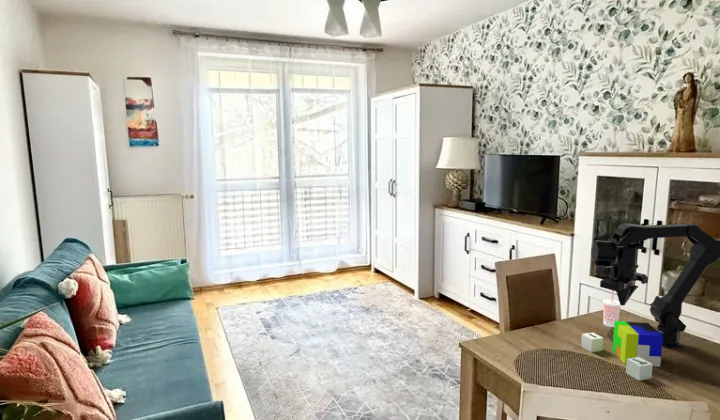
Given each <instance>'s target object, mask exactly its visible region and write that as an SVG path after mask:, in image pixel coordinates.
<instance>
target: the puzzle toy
mask: <svg viewBox="0 0 720 420" xmlns="http://www.w3.org/2000/svg"><path fill="white" fill-rule="evenodd" d="M662 343H663V336H662V335H661V334H660V333H659V332H658V331H657V328H654V326H652V325H651V324H650V323H649V322H638V321H637V322H636V321H621V320H618V321H615V322H614V327H613V337H612V348H611V349H612V350H613V352H614V353H615V355H616V356H617V357H618V358H619V359H620V360H621V362H623V364H624V365H627V359H629V358H636V357H640V358H642V359H644V360H646V361H648V362H650V363H651V364H653V367H657V368H658V367H659V368H660V367H661V363H662V351H663V345H662Z"/></svg>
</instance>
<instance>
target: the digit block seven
mask: <svg viewBox="0 0 720 420" xmlns="http://www.w3.org/2000/svg"><path fill="white" fill-rule="evenodd" d="M625 366H626V367H625V373H626V374H627V375H629V376H631V377H632V378H633V379H635V380H637V381H645V380H649V379H652V378H653V377H652V375H653V367H654V366H653V364H651V363H650V362H648V361H646V360H644V359H642V358H640V357H636V358H629V359H627V364H625Z"/></svg>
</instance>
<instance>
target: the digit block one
mask: <svg viewBox="0 0 720 420" xmlns="http://www.w3.org/2000/svg"><path fill="white" fill-rule="evenodd" d="M580 338H581V341H580V347H582V348H583V349H585V350H586V351H588V352H590V353H595V352H601V351H603V350H604V349H603V347H604V337H603V336H601V335H599V334H597V333H596V332H585V333H582V334H581V337H580Z"/></svg>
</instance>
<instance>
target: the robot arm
mask: <svg viewBox="0 0 720 420" xmlns="http://www.w3.org/2000/svg"><path fill="white" fill-rule="evenodd" d="M680 237H682V238H683V237H685V238H686V239H687V240H688V241H689V242H690V243H691V244H692V247H691V248H690V258H689V260H688V261H687V263H686V265H685V266H684V267H683V269H682V270H681V272H680V274H679V275H678V277H677V278H676V279H675V280H674V283H673V284H672V285H671V287H670V289H669V290H668V291H667V293H666V294H665V295H663V296H662V297H661V296H659V295H655V297H654V300H653V302H652V303H650V304H649V306H650V308H649V311H650V314H651V316H652V317H653V318H654V320H655V322H657V323H658V325H657V328H656V330H657V331H658V332H659V333H660V334H661V335H662V336H663V343H662V347H666V348H668V349H673V348H678V347H679V348H680V347H684V343H681V342H680V339H681V337H680V336H681V332H682V333H683V332H685V331H686V328H687V325H686V324H684V322H683V321H682V320H681V319H680V317H681V314H682V308H683V302H684V301H685V299H686V297H687V296H688V295H689V293H690V292H691V291H692V289H693V288H694V286H695V285H696V283H697V282H698V280H699V279H700V278H701V276H702V274H703V273H704V272H705V270H706V269H707V268H708V266H710V265H712V264H714V263H715V262H717V261H718V260H720V240H718V239H715V238H714V237H712V236H711V235H710V234H708V233H706V232H705V231H704V230H702V229H701V228H700V227H699V226H697V224H693V223H690V222H685V223H677V224H676V223H675V224H673V223H671V224H656V225H655V224H654V225H643V224H637V223H627V222H625V223H624V222H623V223H620V224H619V225H618V226H617V227H616V229H615V232H614V233H612V235H611V236H610V237H609V238H608V239H607V240H599V239H598V240H597V239H596V240H594V244H592V247H591V253H590V254H591V257H592V259H593V261H603V262H604V261H605V262H606V261H607V262H608V261H609V262H611V261H614V260H615V262H613V263H612V264H611V265H609V266H605V264H604V265H597V267H596V271H595V273H596V274H597V275H598V276H599V278H603V279H602V280H600V282H599V288H603V289H607V290H610V291H612V290H613V291H614V292H615V293H616V295H617V299H618V301H619V302H620V305H621V307H622V306H625V305H626V304H627V303H628V301H629V299H630V298H631V297H632V295H633V294H634V292H635V291H636V290H637V289H638V288H639V285H635V282H637V281H638V282H640V283H641V284H642V285H646V284H648V282H649V277H648V276H647V274H644V273H640V272H636V269H639V264H636V263H637V254H638V250H645V247H644V246H643V245H642V244H641V242H645V241H647V240H650V239H659V238H660V239H661V238H665V239H666V238H680ZM604 277H606V278H604Z"/></svg>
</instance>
